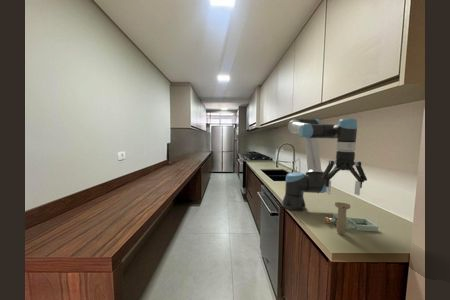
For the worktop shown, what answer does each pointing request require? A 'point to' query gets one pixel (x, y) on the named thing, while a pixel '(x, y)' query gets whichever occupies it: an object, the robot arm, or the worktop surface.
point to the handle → (341, 216)
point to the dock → (352, 225)
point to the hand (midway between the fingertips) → (342, 193)
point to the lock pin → (330, 220)
